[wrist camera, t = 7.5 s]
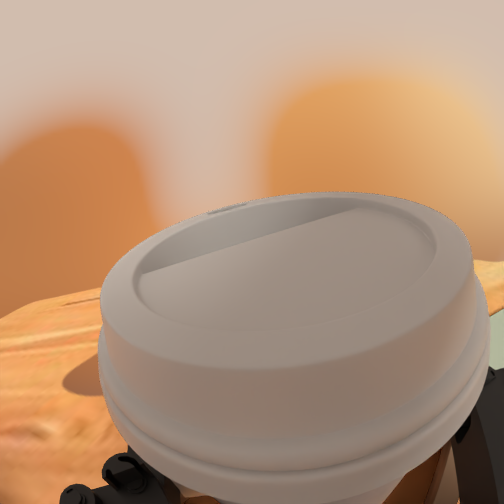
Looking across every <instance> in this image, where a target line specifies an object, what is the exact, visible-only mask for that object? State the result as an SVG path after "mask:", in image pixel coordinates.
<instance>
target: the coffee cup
mask: <svg viewBox="0 0 504 504" xmlns="http://www.w3.org/2000/svg"><path fill="white" fill-rule="evenodd" d="M100 307H101V314H102V321H103V325H102V328H101V331H100V335H99V341H98V362H99V377H100V382H101V387H102V391H103V394H104V398H105V401H106V405H107V408H108V410H109V413H110V416H111V418H112V420H113V422H114V424H115V426H116V428H117V429H118V431H119V433H120V434H121V435H122V437H123V438H124V440H125V441H126V442H127V443H128V445H129V446H130V447H131V448H132V449H133V450H134V451H135V452H136V453H137V454H138V455H139V456H140V457H141V458H142V459H143V460H144V461H145V462H147V463H148V464H149V465H150V466H152V467H153V468H154V469H156V470H157V471H159V472H160V473H162V474H163V475H165V476H166V477H168V478H170V479H172V480H173V481H175V482H177V483H179V484H181V485H183V486H185V487H187V488H190V489H192V490H195V491H197V492H200V493H202V494H205V495H208V496H211V497H213V498H214V499H216V500H217V501H218V502H219V503H220V504H382V503H383V502H384V501H385V499H386V498H387V497H388V496H389V495H390V493H391V492H392V491H393V490H394V488H395V487H396V486H397V485H398V483H399V482H400V481H401V479H402V478H403V477H404V475H405V474H406V473H408V472H409V471H411V470H412V469H414V468H415V467H417V466H418V465H420V464H421V463H423V462H424V461H425V460H427V459H428V458H429V457H431V456H432V455H433V454H434V453H435V452H437V451H438V450H439V449H440V448H441V447H442V446H443V445H444V444H445V443H446V442H447V441H448V440H449V439H450V438H451V437H452V436H453V435H454V434H455V433H456V432H457V430H458V429H459V428H460V427H461V425H462V424H463V423H464V421H465V420H466V419H467V417H468V416H469V414H470V413H471V411H472V409H473V407H474V406H475V404H476V402H477V400H478V398H479V396H480V393H481V391H482V388H483V386H484V383H485V380H486V376H487V372H488V367H489V359H490V341H491V326H490V317H489V312H488V305H487V300H486V296H485V293H484V290H483V287H482V285H481V283H480V281H479V279H478V277H477V276H476V274H475V272H474V264H473V256H472V251H471V247H470V244H469V241H468V239H467V237H466V236H465V234H464V233H463V231H462V230H461V229H460V228H459V227H458V226H457V225H456V224H455V223H454V222H453V221H452V220H450V219H449V218H448V217H446V216H445V215H443V214H441V213H439V212H438V211H435V210H434V209H432V208H429V207H427V206H424V205H422V204H419V203H416V202H412V201H409V200H405V199H401V198H397V197H391V196H385V195H379V194H370V193H357V192H313V193H300V194H291V195H282V196H275V197H268V198H262V199H258V200H252V201H248V202H243V203H238V204H234V205H231V206H227V207H223V208H219V209H216V210H212V211H209V212H206V213H203V214H200V215H197V216H195V217H192V218H189V219H187V220H184V221H182V222H179V223H177V224H175V225H172V226H170V227H168V228H166V229H164V230H162V231H160V232H158V233H156V234H154V235H153V236H151V237H149V238H148V239H146V240H145V241H143V242H141V243H140V244H138V245H137V246H136V247H134V248H133V249H132V250H130V251H129V252H128V253H127V254H125V255H124V256H123V257H122V258H121V259H120V260H119V261H118V262H117V263H116V264H115V265H114V267H113V268H112V269H111V271H110V272H109V274H108V275H107V277H106V279H105V281H104V283H103V286H102V289H101V294H100Z"/></svg>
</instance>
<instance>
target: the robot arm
mask: <svg viewBox="0 0 504 504" xmlns="http://www.w3.org/2000/svg"><path fill="white" fill-rule="evenodd" d="M450 441H451V446H452V451H453V457H454V463H455V469H456V476H457V483H458V491H459V499H460V504H504V368H501V369H497V370H495V369H493V368H492V367H490V366H489V367H488V372H487V376H486V380H485V383H484V386H483V388H482V391H481V393H480V396H479V398H478V400H477V402H476V404H475V406H474V407H473V409H472V411H471V413H470V414H469V416H468V417H467V419H466V420H465V421H464V423H463V424H462V425H461V427H460V428H459V429H458V430H457V432H456V433H455V434H454V435H453V436H452V437H451V438H450ZM102 478H103V479H104V480H105V481H106V482H107V483H108V484H109V485H107V486H103V487H99V488H96V489H92V490H91V489H90V488H89V487H87V486H85V485H83V484H73V485H70V486H68V487H67V488H66V489H64V491H63V492H62V494H61V496H60V502H59V504H181V498H180V492H181V494H182V495H183V496H184V497H185V498H186V497H197V496H206V495H205V494H202V493H200V492H197V491H195V490H192V489H190V488H187V487H185V486H183V485H181V484H179V483H177V482H175V481H173V480H172V479H170V478H168V477H166V476H165V475H163V474H162V473H160V472H159V471H157V470H156V469H154V468H153V467H152V466H150V465H149V464H148V463H147V462H145V461H144V460H143V459H142V458H141V457H140V456H139V455H138V454H137V453H136V452H135V451H134V450H133V449H132V448H131V447H130V446H129V445H128V451H127V453H125V452H124V453H119V454H116V455H114V456H112V457H110V458H109V459H108V460H107V461H106V462H105V464H104V466H103V469H102Z"/></svg>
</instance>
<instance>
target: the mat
mask: <svg viewBox="0 0 504 504" xmlns="http://www.w3.org/2000/svg"><path fill="white" fill-rule="evenodd" d="M490 326H491V341H490V359H489V366H490V367H492V368H493V369H495V370H497V369H501V368H504V309H502V310H501V311H499V312H497V313H495V314H494V315H492V316H490Z"/></svg>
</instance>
